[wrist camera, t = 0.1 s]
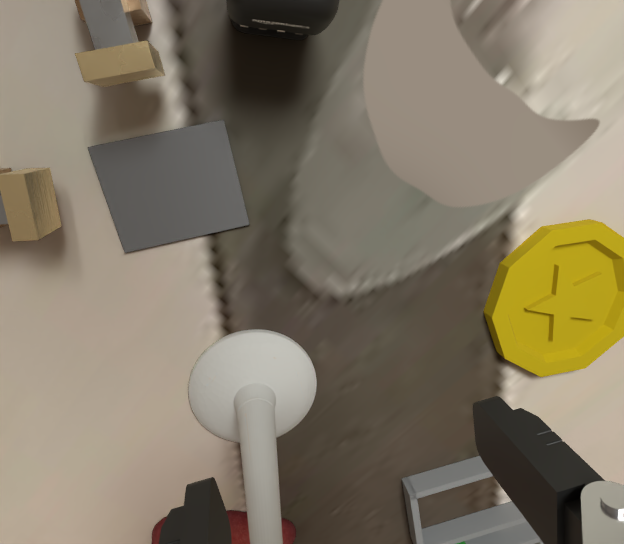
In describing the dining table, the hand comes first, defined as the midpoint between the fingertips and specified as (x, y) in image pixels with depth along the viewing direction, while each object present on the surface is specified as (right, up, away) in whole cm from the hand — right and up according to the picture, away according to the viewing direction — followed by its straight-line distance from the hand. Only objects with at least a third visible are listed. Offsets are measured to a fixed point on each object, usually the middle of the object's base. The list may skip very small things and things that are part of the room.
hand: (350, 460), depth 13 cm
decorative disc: (+26, +3, +35) cm, 44 cm away
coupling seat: (-13, +13, +25) cm, 31 cm away
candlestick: (-7, -6, +32) cm, 34 cm away
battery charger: (-4, +26, +22) cm, 34 cm away
